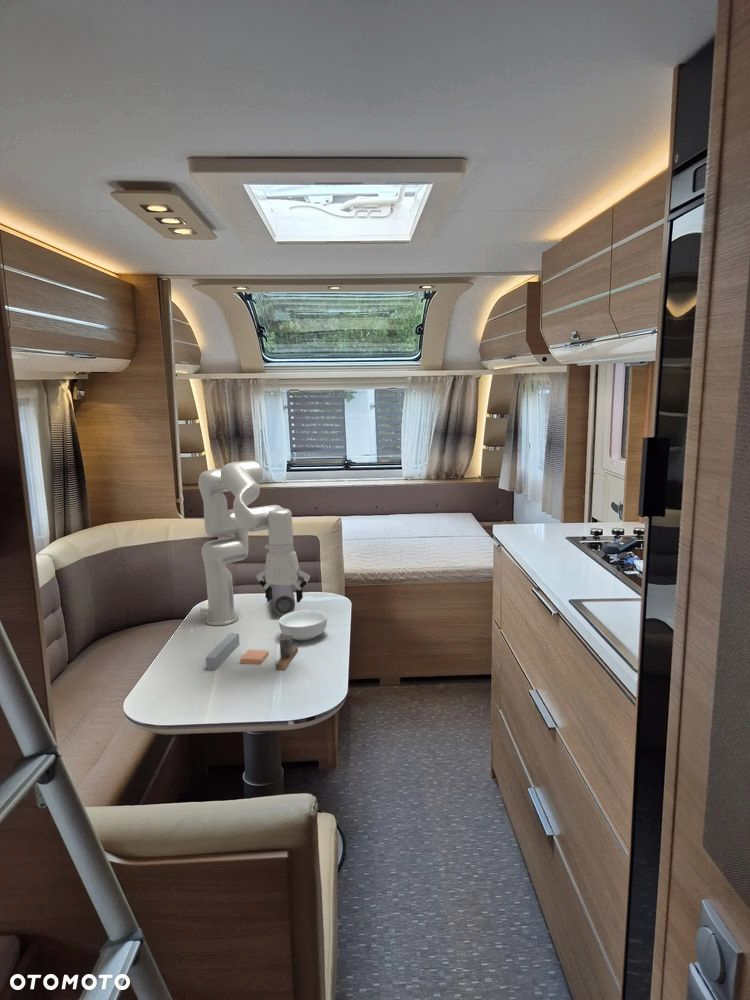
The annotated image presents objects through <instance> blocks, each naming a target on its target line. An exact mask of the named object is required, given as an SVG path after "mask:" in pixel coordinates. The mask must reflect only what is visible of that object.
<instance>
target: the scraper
mask: <svg viewBox="0 0 750 1000" xmlns="http://www.w3.org/2000/svg"><path fill="white" fill-rule="evenodd" d="M293 640H294V639H293V637H292V635H284V634H283V635H282V636H281V637H280V639H279V652H280V658H279V659H278V660H277V662H275V670H278V671H287V668H288V667H289V665H290V664H291V663H292V661H293V660H294V658H295V657H296V655H297V654H298V652H299V650H298V648H299V647H298V646H296V645H295V646H294V641H293Z"/></svg>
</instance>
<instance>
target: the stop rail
mask: <svg viewBox="0 0 750 1000" xmlns="http://www.w3.org/2000/svg"><path fill="white" fill-rule="evenodd" d="M239 645H240V635H239V633H237V632H235V633H234V632H231V633H229V634H228V635H227V636H226V637H225V638H224V639H223V640H221V642H220V643H219V644H218V645H217V646H216V647H215V648H214V649H212V651H210V653H208V655H206V657H205V665H206V670H210V671H211V670H212V671H216V670H217V669H218V668H219V667H220V666H221V665H222V664H223V663H224V662H225V661H226V660H227V658H228V657H229V656H230V655H231V654H232V653H233V652H234V651H235V650H236V649H237V648H238V647H239Z"/></svg>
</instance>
